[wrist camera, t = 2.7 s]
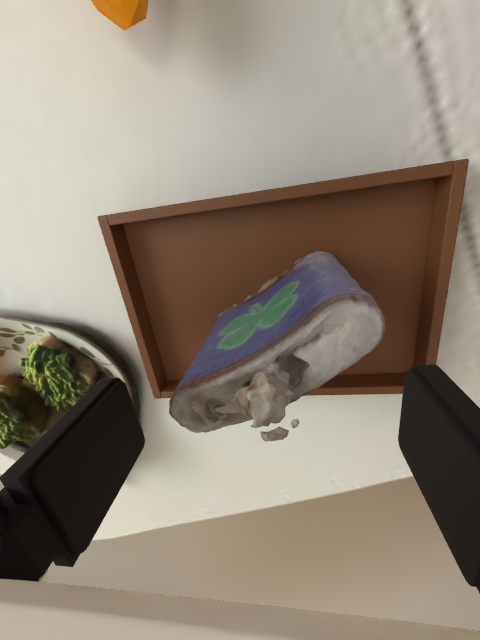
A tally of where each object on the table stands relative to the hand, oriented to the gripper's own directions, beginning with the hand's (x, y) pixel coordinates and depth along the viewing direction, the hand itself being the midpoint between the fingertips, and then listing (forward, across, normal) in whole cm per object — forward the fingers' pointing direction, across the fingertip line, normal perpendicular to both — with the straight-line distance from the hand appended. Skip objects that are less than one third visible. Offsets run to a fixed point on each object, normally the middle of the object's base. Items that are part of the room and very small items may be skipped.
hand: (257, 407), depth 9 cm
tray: (+10, 0, 0) cm, 10 cm away
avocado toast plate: (+11, +20, +8) cm, 24 cm away
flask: (+10, 0, 0) cm, 10 cm away
